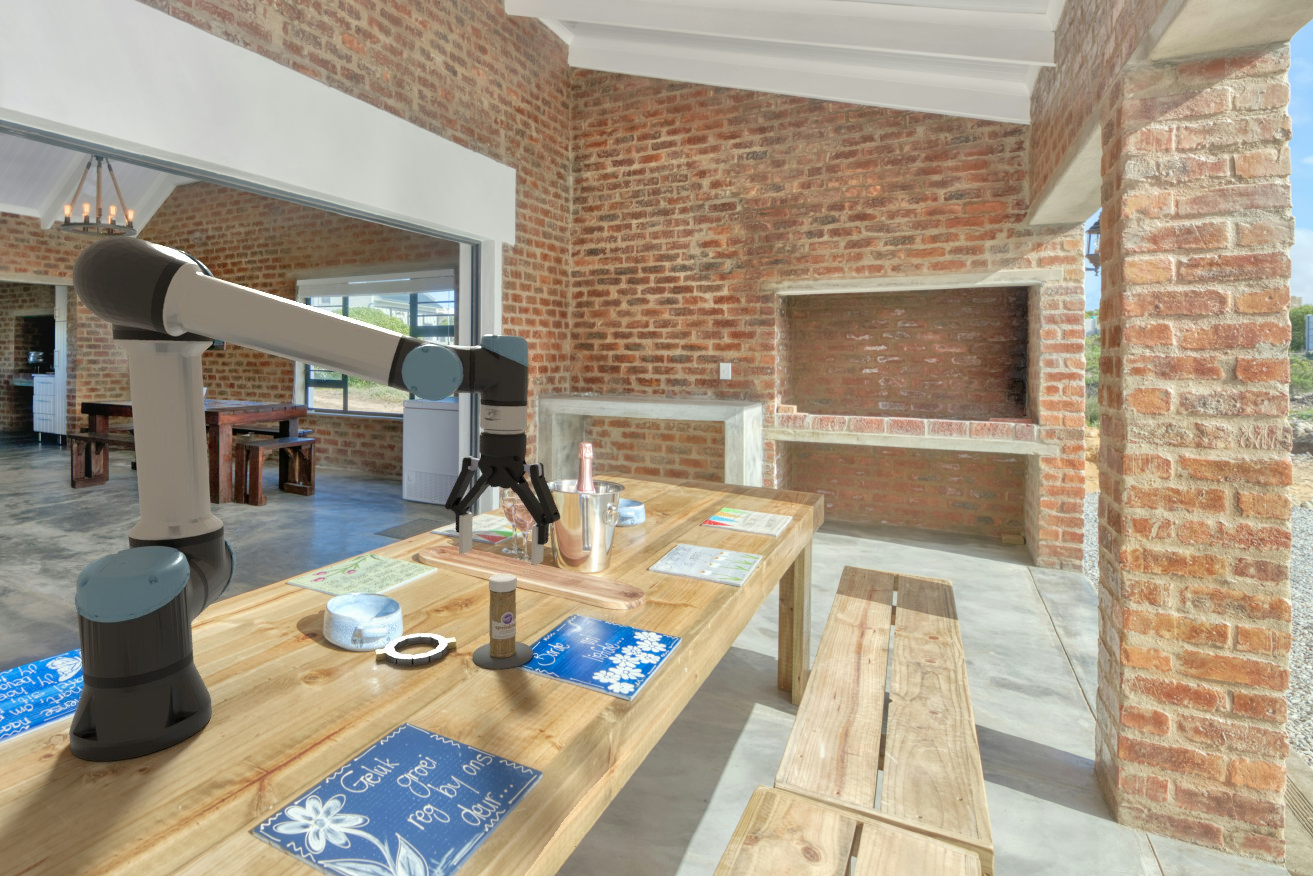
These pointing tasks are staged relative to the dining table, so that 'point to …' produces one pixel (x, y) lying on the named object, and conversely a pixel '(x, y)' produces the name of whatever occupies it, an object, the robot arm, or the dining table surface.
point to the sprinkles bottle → (502, 615)
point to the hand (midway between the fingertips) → (500, 557)
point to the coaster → (487, 661)
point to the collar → (418, 659)
